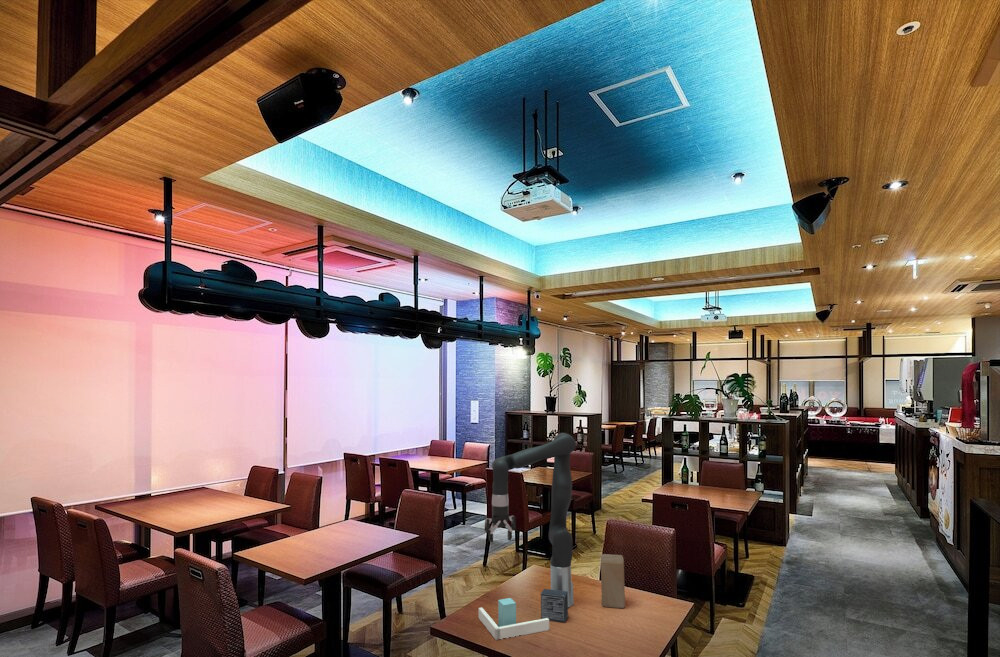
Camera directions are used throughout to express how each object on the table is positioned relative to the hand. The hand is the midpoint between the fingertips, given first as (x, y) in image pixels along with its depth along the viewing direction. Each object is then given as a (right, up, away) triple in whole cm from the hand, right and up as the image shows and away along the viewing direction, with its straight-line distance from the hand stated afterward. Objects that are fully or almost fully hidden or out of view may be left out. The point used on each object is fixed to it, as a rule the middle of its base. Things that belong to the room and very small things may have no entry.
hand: (500, 541), depth 237 cm
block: (+51, -28, 0) cm, 58 cm away
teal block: (+3, -26, -23) cm, 35 cm away
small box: (+23, -27, -14) cm, 38 cm away
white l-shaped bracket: (+5, -26, -19) cm, 33 cm away
